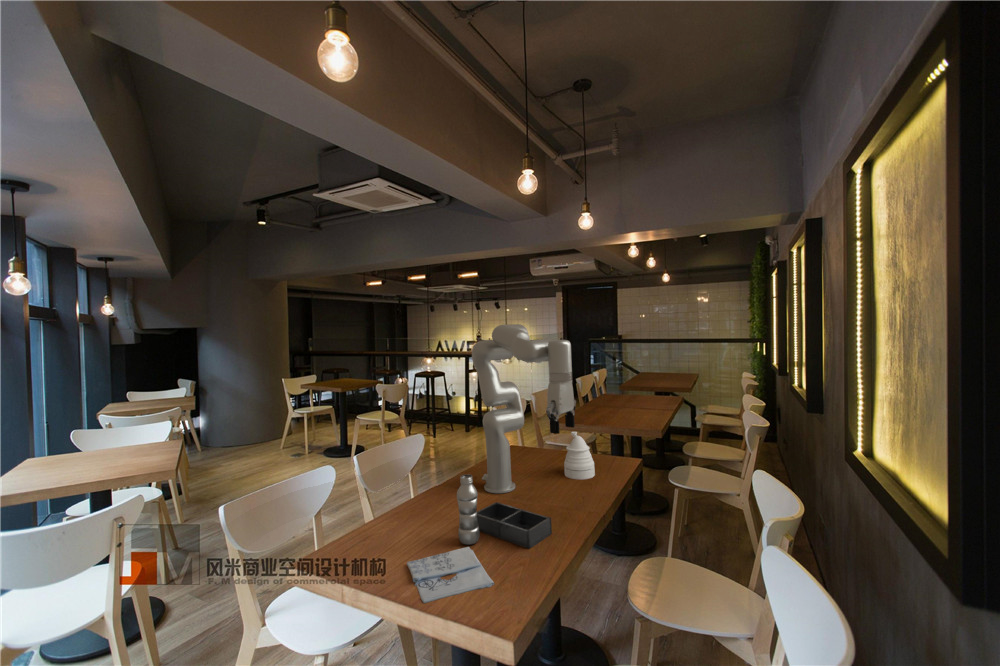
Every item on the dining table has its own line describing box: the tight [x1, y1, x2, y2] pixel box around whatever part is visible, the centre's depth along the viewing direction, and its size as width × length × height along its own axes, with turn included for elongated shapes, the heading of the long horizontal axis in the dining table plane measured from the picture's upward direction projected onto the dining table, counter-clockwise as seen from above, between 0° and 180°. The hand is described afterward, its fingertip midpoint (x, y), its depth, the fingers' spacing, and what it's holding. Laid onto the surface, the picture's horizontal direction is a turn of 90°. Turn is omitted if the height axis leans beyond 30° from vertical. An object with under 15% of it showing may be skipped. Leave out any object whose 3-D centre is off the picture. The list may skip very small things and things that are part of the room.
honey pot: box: [563, 431, 596, 480], centre depth 190 cm, size 13×13×18 cm
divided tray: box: [477, 501, 553, 550], centre depth 139 cm, size 22×12×5 cm, turn 50°
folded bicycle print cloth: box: [406, 546, 495, 604], centre depth 116 cm, size 19×20×2 cm
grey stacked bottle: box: [456, 474, 481, 546], centre depth 133 cm, size 6×7×20 cm
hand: (562, 430), depth 144 cm, fingers open, 9 cm apart
